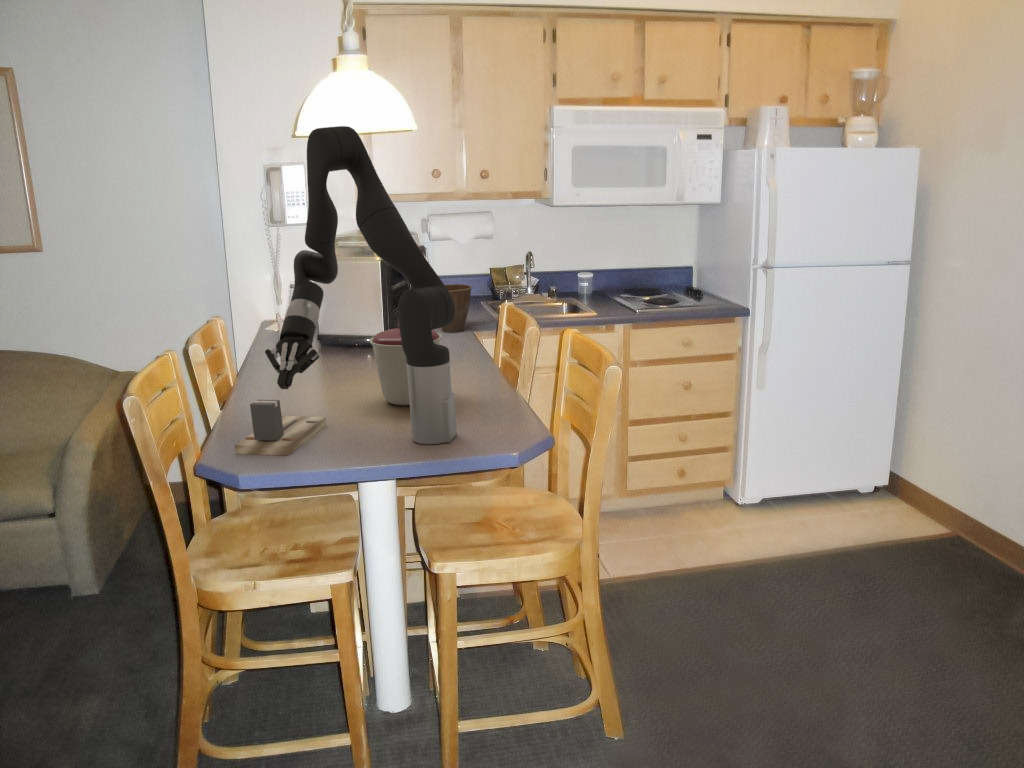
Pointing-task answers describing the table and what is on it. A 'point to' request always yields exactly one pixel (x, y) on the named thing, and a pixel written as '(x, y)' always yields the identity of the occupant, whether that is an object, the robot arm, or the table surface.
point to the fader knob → (266, 419)
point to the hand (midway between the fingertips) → (283, 387)
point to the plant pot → (458, 306)
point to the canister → (393, 365)
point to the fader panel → (283, 437)
